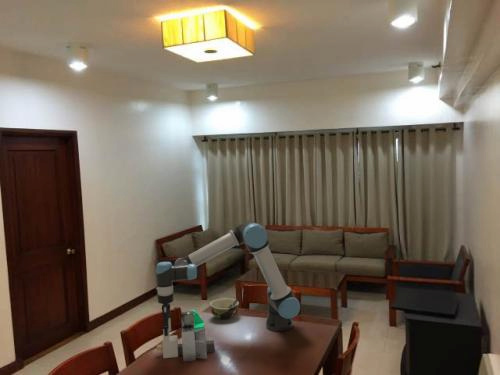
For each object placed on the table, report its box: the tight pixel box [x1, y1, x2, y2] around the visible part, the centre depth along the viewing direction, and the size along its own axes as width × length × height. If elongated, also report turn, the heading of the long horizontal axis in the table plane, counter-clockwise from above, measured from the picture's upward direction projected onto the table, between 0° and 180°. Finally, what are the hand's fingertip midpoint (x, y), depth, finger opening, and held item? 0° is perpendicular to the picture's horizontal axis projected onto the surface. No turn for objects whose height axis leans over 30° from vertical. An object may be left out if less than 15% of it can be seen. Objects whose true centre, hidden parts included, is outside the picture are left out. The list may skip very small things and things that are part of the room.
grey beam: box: [156, 334, 216, 359], centre depth 210 cm, size 28×7×8 cm, turn 98°
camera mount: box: [190, 309, 205, 331], centre depth 239 cm, size 12×8×10 cm, turn 98°
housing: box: [180, 310, 208, 362], centre depth 210 cm, size 11×19×20 cm, turn 8°
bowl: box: [209, 297, 240, 320], centre depth 255 cm, size 18×18×10 cm
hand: (167, 336), depth 208 cm, fingers open, 13 cm apart
